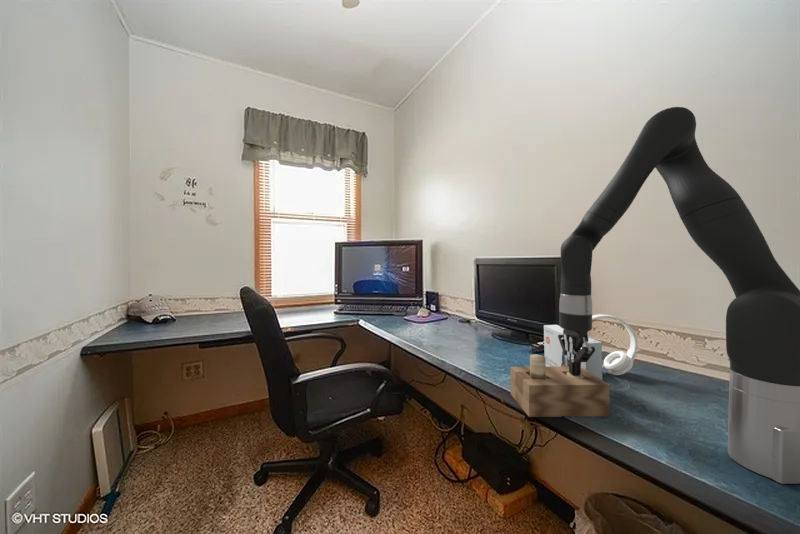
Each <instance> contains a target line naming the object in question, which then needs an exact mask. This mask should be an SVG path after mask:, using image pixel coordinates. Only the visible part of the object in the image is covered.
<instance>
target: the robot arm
mask: <svg viewBox="0 0 800 534" xmlns="http://www.w3.org/2000/svg"><path fill="white" fill-rule="evenodd" d="M696 120H697V119H696V116H695V114H694V113H693V112H692V111H691V110H690V109H689V108H687V107H683V106H672V107H667V108H665V109H662V110H660V111H659V112H657V113H655V114H653V116H651V117H650V118H649V119H648V120H647V122H645V124H644V126H643V128H642V130H641V131H640V133H639V135H638V137H637V139H636V140H635V142H634V144H633V146H632V147H631V149H630V151H629V152H628V154H627V156H626V158H625V159H624V161H623V162H622V164H621V165H620V167H619V169H618V170H617V171H616V173H615V174H614V176H613V177H612V179H611V180H610V181H609V183H608V184H607V185H606V187H605V188H604V189H603V191H602V192H601V193H600V195H599V196H598V197H597V199H595V201H594V202H593V204H591V206H590V207H589V209H588V210H587V212H585V213H584V215H583V217H582V218H581V221H580V223H579V224H578V225H577V226H576V227H575V229H574V230H573V231H572V233H571V234H570V235H569V236H568V237H567V238H566V239H565V240H564V241H563V242H562V243H561V246H560V265H561V266H560V268H561V269H560V270H561V277H560V293H559V296H560V297H559V303H558V304H559V305H558V307H559V308H558V309H559V310H558V314H559V316H558V317H559V318H558V319H559V320H558V325H559V326H560V327H561V328H563V329H564V330H563V334H562V335H558V338H559V341H560V344H561V347H562V350H563V353H564V355H567V358H568V360H569V373H570V374H572V375H573V376H580V374H581V362H587V361H588V360H589V358H590V357H591V356H592V354H593V353H594V352H595V348H594V347H590V345H589V344H588V340H589V339H588V337H589V336H588V332H589V331H591V330H593V320H592V316H593V299H592V298H593V297H592V275H591V271H592V264H593V263H592V261H593V251H594V250H595V248H596V247H597V246H598V245H599V244H600V242H601V241H602V239H603V238H604V237H605V236H606V235H607V234H608V233H609V232H610V231H611V230H612V229H613V228H614V227H615V225H616V224H617V223H618V222H619V220H620V219H621V218H622V217H623V216H624V214H625V213H626V212H627V211H628V209H629V208H630V206H631V205H632V204H633V202H634V200H635V199H636V197H637V196H638V194H639V192H640V190H641V188H642V187H643V185H644V183H645V182H646V180H647V179H648V177H649V176H650V175H651V174H652V172H653V171H654V170H655V169H656V171H657V172H658V173H659V174H660V176H661V177H662V179H663V180H664V182H665V184H666V186H667V189H668V192H669V194H670V197H671V199H672V200H671V201H672V202H673V205H674V208H675V209H676V211H677V214H678V216H679V217H680V218H679V219H680V220H681V222H682V223H683V225H684V227H685V229H686V231H687V232H688V234H689V236H690V237H691V239H692V241H693V242H694V243H695V244H696V245H697V247H698V248H699V249H700V250H701V251H702V252H703V253H704V254H705V255H706V256H707V257H708V258H709V259H710V260H711V261H712V262H713V263H714V264H715V265H716V266H717V267H718V268H719V269H720V270H721V271H722V272H723V274H724V276H725V277H726V279H727V281H728V282H729V285H730V287H731V289H732V291H733V293H734V296H735V298H734V299H732V301H730V303H729V305H728V306H727V310H726V315H725V350H726V354H727V357H728V359H729V384H728V385H729V386H728V388H729V389H728V417H727V418H728V421H727V422H728V425H727V427H728V428H727V455H728V456H729V458H731V459H732V460H733V461H735V462H736V463H737V464H739V465H741V467H744V468H746V469H748V470H749V471H752V472H754V473H756V474H759V475H761V476H764V477H765V478H766V477H767V478H769V479H772V480H774V481H776V482H777V483H778V484H783V485H784V484H785V485H786V484H791V485H792V484H795V485H798V484H800V288H798V287H797V285H796V284H795V283H794V281H792V279H791V278H790V277H789V276H788V274H787V273H786V272H785V271H784V270H783V268H782V267H781V266H780V264H779V262H777V259H776V258H775V257H774V254H773V252H772V251H771V249H770V246H769V243H768V242H767V240H766V238H765V237H764V234H763V233H762V230H761V229H760V226H759V225H758V223H757V222H756V220H755V218H754V216H753V215H752V213H751V212H750V209H749V208H748V207H747V205H746V203H745V202H744V200H743V198H742V196H741V195H740V194H739V193H738V192H737V191H736V189H735V188H734V187H733V186H732V185H731V184H730V183H729V182H727V181H726V180H725V179H724V178H722V177H721V176H720V175H719V174H717V173H716V172H715V171H714V170H713V169H712V168H711V167H710V166H709V165H708V163H707V161H706V160H705V159H704V157H703V155H702V152H701V150H700V148H699V146H698V143H697V140H696V128H697V121H696Z"/></svg>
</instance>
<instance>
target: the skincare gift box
mask: <svg viewBox="0 0 800 534" xmlns="http://www.w3.org/2000/svg"><path fill="white" fill-rule="evenodd" d="M563 330H564V329H563V328H561V327H560V326H559V324H547V325H543V343H544V345H543V347H544V348H543V349H544V353H543V354H544V357H545V358H546V367H550V366H569V360H568V358H567V355H564V353H563V350H562V347H561V344H560V341H559V338H558V335H562V334H563ZM588 339H589V340H588V344H589V345H590V347H594V348H595V352H594V353H593V354H592V356H591V357H590V358H589V360H588V361H587V362H581V367H582V368H583V369H585V370H586V371H588V372H590V373H591V374H593V375H595V376H596V377H598V378H600V379H601V380H603V369H602V364H603V352H602V351H603V346H602V345H603V343H602V342H601V341H600V340H597V339H594V338H592V337H589V336H588Z"/></svg>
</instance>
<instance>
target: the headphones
mask: <svg viewBox="0 0 800 534" xmlns="http://www.w3.org/2000/svg"><path fill="white" fill-rule="evenodd" d="M598 319H613V320H616V321H617V322H619V323H620V324H622V325H623V326H624V328H625V329H626V330H627V332H628V334H629V339H630V345H629V348H628V349H627V351H621V350H617V351H612V352H611V353H609V354H607V356H605V358H604V360H603V363H602V370H604V368H605V369H606V370H607V371H609V372H610V373H611V374H612V375H614V376H621V375H624V374H626V373H628V372H629V371H630V370H631V369H632V367H633V366H634V361H635V359H636V357H637V354H638V345H639V344H638V337H637V335H636V332H635V330H634V329H633V328H632V327H631V326H630V324H628V322H626V321H625V320H623V319H621V318H619V317H617V316H614V315H610V314H603V313H602V314H601V313H600V314H592V321H595V320H598Z"/></svg>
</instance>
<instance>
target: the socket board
mask: <svg viewBox="0 0 800 534" xmlns="http://www.w3.org/2000/svg"><path fill="white" fill-rule="evenodd" d="M567 372H569V366H550V367H546V379H532V378H531V377H530V366H510V396H512V398H513V399H514V400H515V402H517V404H518V405H519V406H520V408H521V409H522V410H523V411H524V413H525V414H526V415H527V416H528V417H529V418H547V417H548V418H551V417H552V418H553V417H554V418H556V417H557V418H559V417H560V418H561V417H562V416H578V417H610V392H611V391H610V390H611V389H610V388H611V387H610V385H611V384H609V383H608V382H606V381H604V380H603V379H602V380H601V379H600V378H598V377H596V376H595V375H593V374H591V373H590V372H588V371H586V370H585V369H583V368H582V367H581V374H582V375H583V379H571V378H569V377H568V376H567ZM562 418H563V417H562Z"/></svg>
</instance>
